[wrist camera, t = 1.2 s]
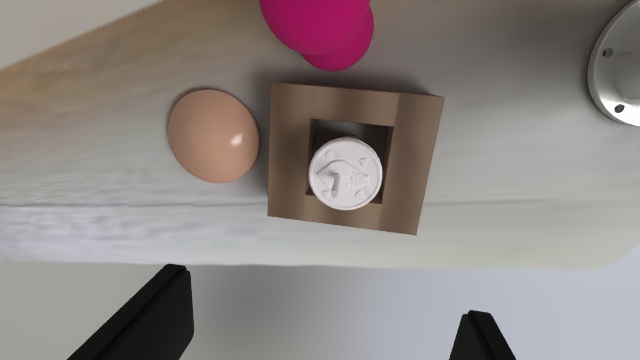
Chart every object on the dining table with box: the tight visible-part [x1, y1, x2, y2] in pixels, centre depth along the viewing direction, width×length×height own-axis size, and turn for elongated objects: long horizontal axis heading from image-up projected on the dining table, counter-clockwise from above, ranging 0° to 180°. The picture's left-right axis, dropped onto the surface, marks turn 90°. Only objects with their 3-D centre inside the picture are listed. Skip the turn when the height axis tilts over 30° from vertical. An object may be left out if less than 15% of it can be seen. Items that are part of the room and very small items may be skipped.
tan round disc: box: [168, 89, 260, 183], centre depth 36 cm, size 11×11×1 cm
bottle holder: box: [267, 82, 444, 235], centre depth 33 cm, size 16×14×5 cm
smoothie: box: [309, 135, 382, 210], centre depth 28 cm, size 6×6×14 cm
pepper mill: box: [259, 0, 374, 71], centre depth 22 cm, size 7×7×20 cm
